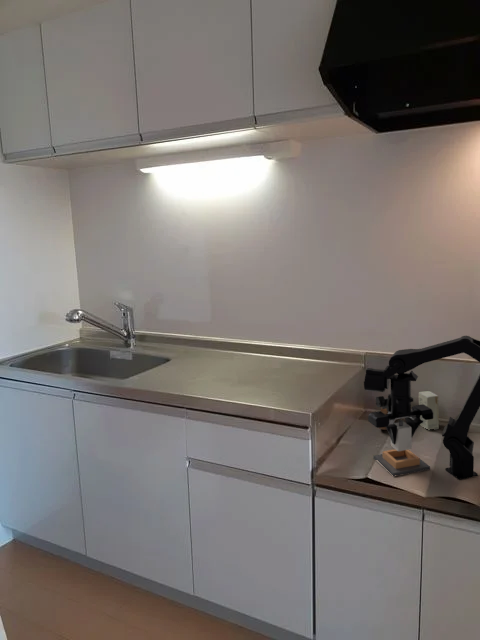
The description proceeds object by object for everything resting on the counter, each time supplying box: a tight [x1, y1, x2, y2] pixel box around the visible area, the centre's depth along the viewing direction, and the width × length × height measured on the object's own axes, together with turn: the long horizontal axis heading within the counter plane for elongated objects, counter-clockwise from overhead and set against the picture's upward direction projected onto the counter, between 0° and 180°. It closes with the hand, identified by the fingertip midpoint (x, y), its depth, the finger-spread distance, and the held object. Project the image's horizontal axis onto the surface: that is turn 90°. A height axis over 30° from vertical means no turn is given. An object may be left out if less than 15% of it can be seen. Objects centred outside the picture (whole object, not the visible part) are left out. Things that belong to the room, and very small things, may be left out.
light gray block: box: [390, 419, 413, 451], centre depth 156 cm, size 4×4×8 cm
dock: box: [372, 448, 431, 477], centre depth 158 cm, size 12×12×3 cm
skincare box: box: [418, 390, 440, 431], centre depth 182 cm, size 6×4×12 cm
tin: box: [378, 407, 397, 431], centre depth 185 cm, size 15×3×8 cm, turn 146°
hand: (401, 442), depth 157 cm, fingers closed on light gray block, 4 cm apart
